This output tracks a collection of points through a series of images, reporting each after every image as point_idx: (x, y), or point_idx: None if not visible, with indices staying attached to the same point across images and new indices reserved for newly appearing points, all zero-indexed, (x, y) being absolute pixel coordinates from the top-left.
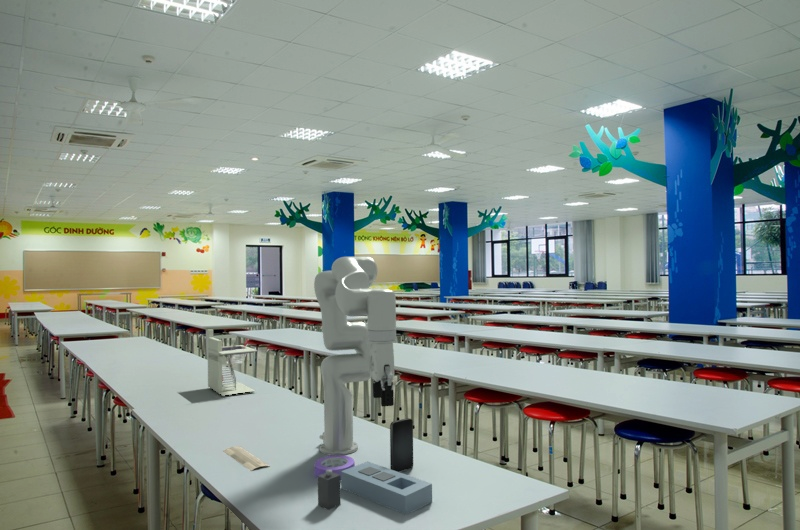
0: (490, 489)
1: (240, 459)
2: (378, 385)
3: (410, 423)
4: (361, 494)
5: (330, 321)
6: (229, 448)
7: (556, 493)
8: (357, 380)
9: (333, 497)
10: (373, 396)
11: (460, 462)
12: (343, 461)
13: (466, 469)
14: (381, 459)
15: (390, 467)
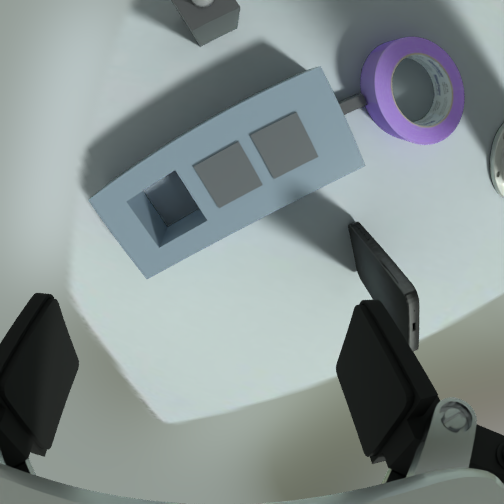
0: (194, 363)
1: None
2: (381, 415)
3: None
4: (233, 105)
5: None
6: None
7: (159, 416)
8: None
9: (185, 22)
10: (367, 303)
11: (335, 359)
12: (434, 121)
13: (298, 359)
14: (435, 224)
15: (360, 224)
